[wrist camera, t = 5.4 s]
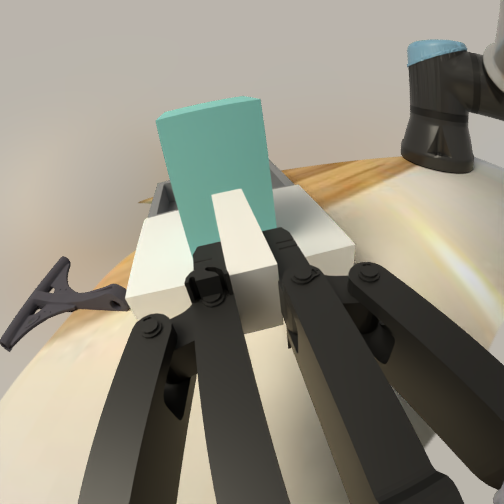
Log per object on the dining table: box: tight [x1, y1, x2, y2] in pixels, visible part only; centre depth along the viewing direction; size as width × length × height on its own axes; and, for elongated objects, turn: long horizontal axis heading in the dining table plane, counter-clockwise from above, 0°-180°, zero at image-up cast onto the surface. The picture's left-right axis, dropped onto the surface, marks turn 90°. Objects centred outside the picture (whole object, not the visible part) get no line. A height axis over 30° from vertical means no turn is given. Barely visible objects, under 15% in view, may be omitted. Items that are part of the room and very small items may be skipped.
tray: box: [148, 160, 294, 218], centre depth 35 cm, size 16×12×4 cm
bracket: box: [0, 256, 129, 352], centre depth 24 cm, size 14×15×3 cm
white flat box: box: [125, 185, 355, 321], centre depth 24 cm, size 16×12×4 cm
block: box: [156, 96, 277, 258], centre depth 20 cm, size 6×6×10 cm
